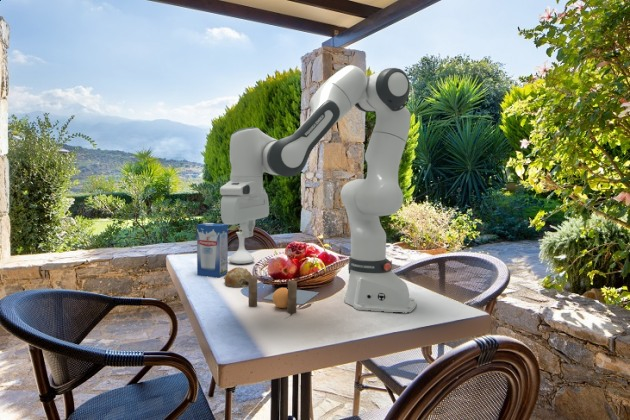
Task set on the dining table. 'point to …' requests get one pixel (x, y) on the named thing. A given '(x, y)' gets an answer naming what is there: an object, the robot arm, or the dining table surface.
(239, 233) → the flower in vase
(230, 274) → the bread roll
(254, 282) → the post far
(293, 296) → the post near
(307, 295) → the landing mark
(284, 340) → the dining table surface
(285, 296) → the ball
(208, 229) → the milk carton
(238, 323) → the dining table surface
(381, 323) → the dining table surface
